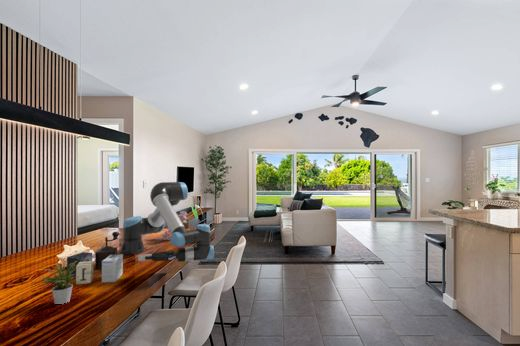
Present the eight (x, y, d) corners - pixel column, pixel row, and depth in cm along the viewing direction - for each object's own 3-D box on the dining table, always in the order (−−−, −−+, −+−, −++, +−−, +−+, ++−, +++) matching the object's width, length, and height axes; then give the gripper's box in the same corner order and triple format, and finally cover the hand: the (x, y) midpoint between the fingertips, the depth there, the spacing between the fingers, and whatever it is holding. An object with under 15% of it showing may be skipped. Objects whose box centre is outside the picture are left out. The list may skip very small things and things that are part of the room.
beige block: (79, 280, 143) (79, 262, 143) (93, 278, 145) (93, 260, 145) (76, 284, 137) (76, 265, 137) (90, 283, 139) (90, 264, 139)
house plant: (59, 293, 126) (59, 256, 126) (90, 293, 126) (90, 256, 126) (32, 308, 112) (33, 266, 112) (67, 309, 112) (67, 267, 112)
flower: (173, 233, 249) (163, 209, 240) (196, 232, 242) (186, 207, 233) (161, 248, 232) (149, 222, 222) (185, 247, 225) (174, 221, 215)
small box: (76, 278, 145) (76, 257, 145) (65, 277, 146) (66, 257, 146) (92, 271, 155) (92, 252, 155) (82, 270, 156) (82, 251, 156)
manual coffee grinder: (116, 267, 162) (117, 235, 162) (94, 269, 158) (94, 237, 158) (119, 259, 177) (119, 230, 177) (99, 261, 172) (99, 232, 173)
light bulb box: (109, 275, 150) (109, 254, 150) (123, 274, 151) (123, 254, 151) (101, 282, 139) (101, 260, 139) (115, 282, 140) (115, 260, 140)
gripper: (186, 264, 150) (137, 269, 142) (184, 257, 162) (139, 261, 154) (186, 250, 150) (137, 254, 142) (184, 244, 162) (139, 247, 154)
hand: (138, 258), depth 148 cm, fingers closed
